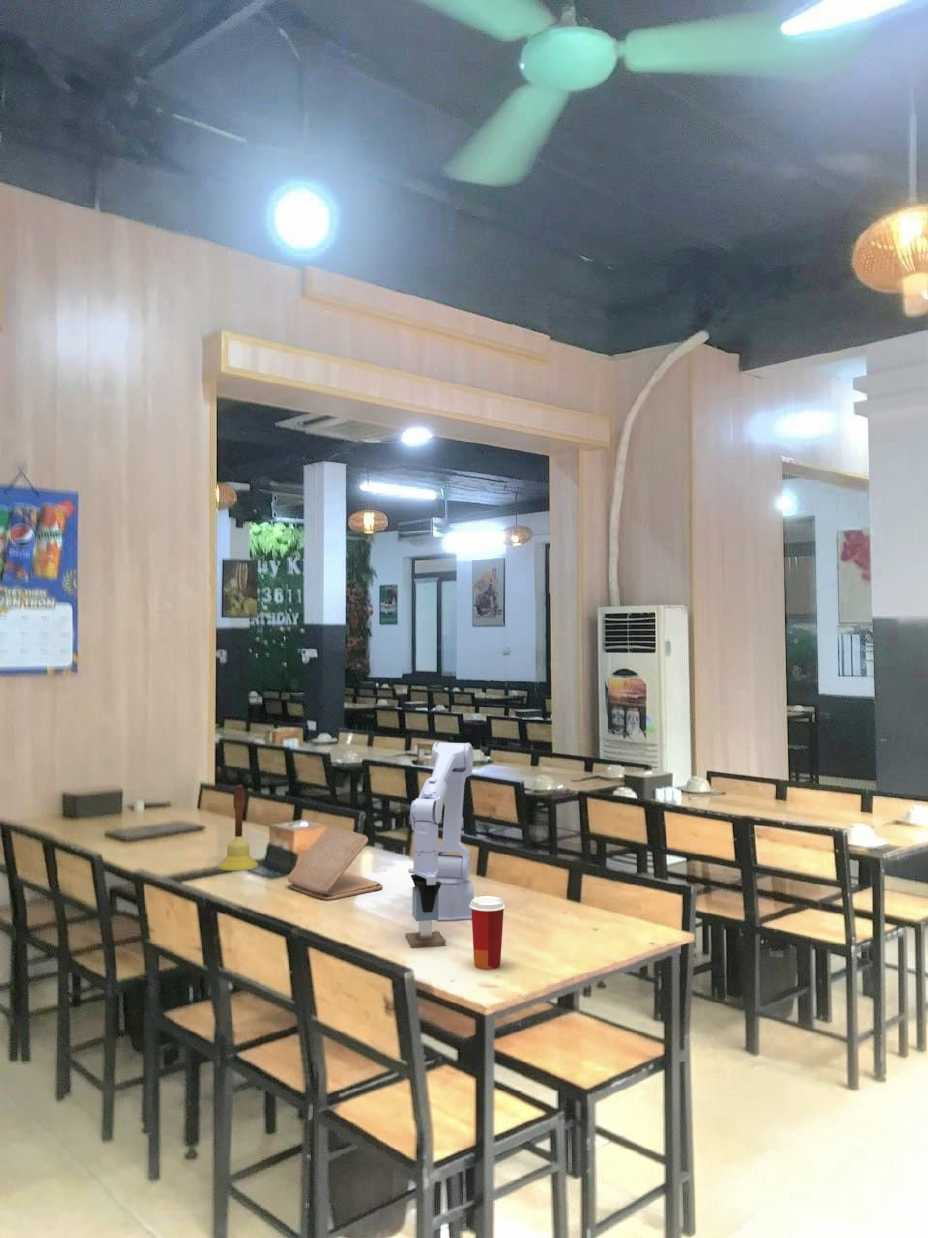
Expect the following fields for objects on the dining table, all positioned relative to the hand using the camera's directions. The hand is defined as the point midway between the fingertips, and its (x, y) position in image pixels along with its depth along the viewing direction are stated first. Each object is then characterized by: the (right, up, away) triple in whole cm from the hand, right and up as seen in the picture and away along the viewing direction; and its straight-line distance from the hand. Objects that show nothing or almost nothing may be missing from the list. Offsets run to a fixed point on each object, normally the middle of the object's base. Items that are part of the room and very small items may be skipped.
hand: (425, 908), depth 224 cm
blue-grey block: (0, -2, 0) cm, 2 cm away
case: (-27, -9, +48) cm, 56 cm away
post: (0, -7, 0) cm, 7 cm away
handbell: (-61, -9, +75) cm, 97 cm away
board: (0, -8, 0) cm, 8 cm away
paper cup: (+14, -8, -16) cm, 23 cm away
